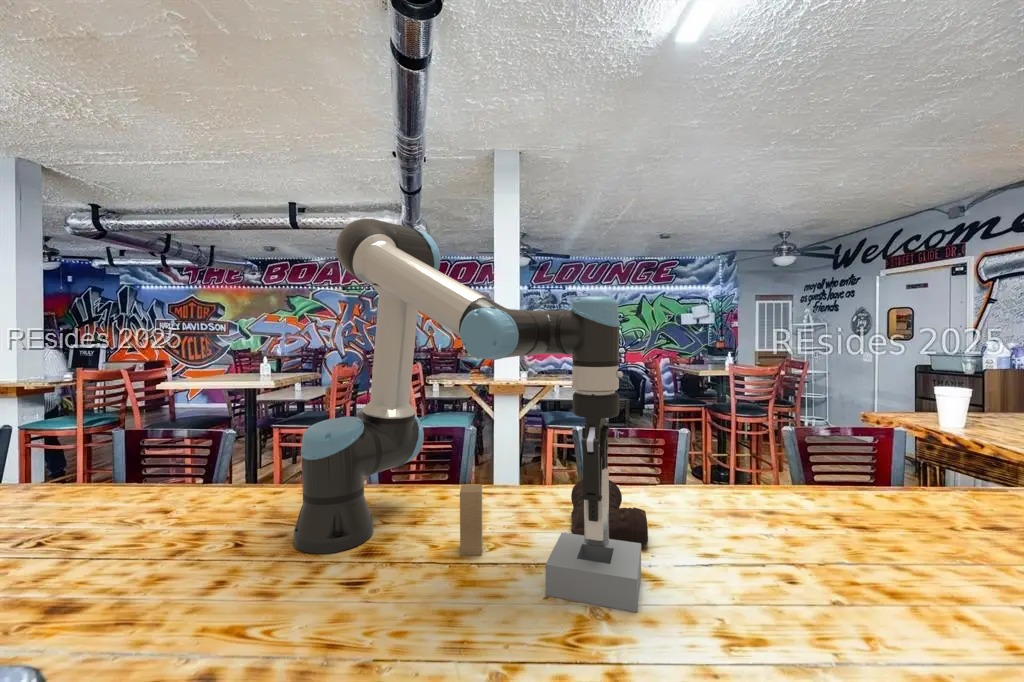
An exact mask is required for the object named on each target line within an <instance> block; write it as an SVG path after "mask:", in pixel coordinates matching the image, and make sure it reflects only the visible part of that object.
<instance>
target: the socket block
mask: <svg viewBox="0 0 1024 682" xmlns="http://www.w3.org/2000/svg"><path fill="white" fill-rule="evenodd" d="M641 578H642V545H641V543H635V542H628V541H620V540H613V539H609V544H608V545H607V546H605V547H601V548H596V547H591V546H588V545H587V544H586V543H585V542H584V535H577V534H573V533H570V532H561V533H560V535H559V537H558V538H557V541H556V543H555V544H554V547H553V549H552V550H551V553H550V555H549V557H548V559H547V560H546V562H545V596H547V597H551V598H556V599H562V600H567V601H572V602H573V601H574V602H577V603H578V602H579V603H584V604H589V605H594V606H595V605H596V606H599V607H606V608H610V609H615V610H622V611H628V612H632V613H633V612H634V613H638V606H639V599H640V598H639V597H640V587H641Z"/></svg>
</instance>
